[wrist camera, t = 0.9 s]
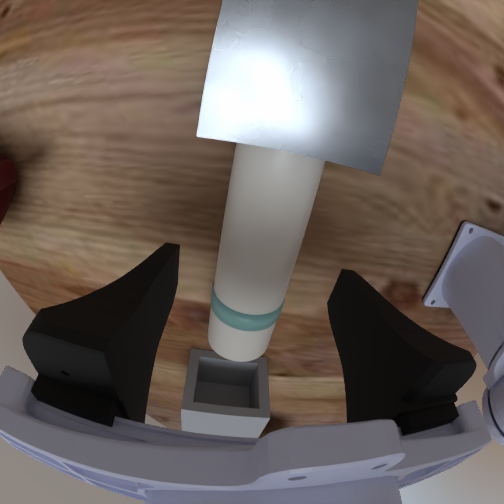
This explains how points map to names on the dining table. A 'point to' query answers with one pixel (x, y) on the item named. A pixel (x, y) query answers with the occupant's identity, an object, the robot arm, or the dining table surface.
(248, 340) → the tube
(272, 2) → the grey stone block
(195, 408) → the socket
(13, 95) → the dining table surface
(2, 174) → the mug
